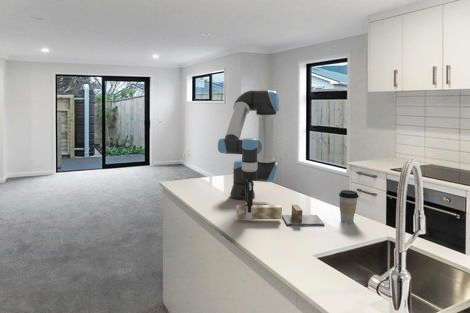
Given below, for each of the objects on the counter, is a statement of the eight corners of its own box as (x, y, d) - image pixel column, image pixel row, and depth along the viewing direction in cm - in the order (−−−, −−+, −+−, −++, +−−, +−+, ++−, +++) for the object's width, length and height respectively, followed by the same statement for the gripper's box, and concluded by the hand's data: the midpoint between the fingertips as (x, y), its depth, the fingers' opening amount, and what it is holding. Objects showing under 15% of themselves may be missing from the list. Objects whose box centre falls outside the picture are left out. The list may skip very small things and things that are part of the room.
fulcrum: (287, 225, 180) (287, 211, 179) (281, 216, 194) (282, 203, 193) (324, 225, 181) (325, 211, 180) (316, 216, 195) (317, 203, 194)
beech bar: (236, 219, 184) (236, 207, 183) (236, 216, 188) (236, 205, 187) (281, 219, 185) (281, 207, 184) (280, 216, 189) (280, 204, 188)
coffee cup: (341, 217, 195) (342, 188, 193) (359, 220, 190) (361, 191, 188) (334, 221, 187) (336, 192, 185) (353, 225, 182) (355, 195, 180)
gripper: (240, 166, 190) (239, 211, 194) (243, 174, 174) (242, 222, 178) (255, 166, 191) (254, 211, 195) (259, 174, 174) (258, 222, 178)
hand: (248, 216), depth 186 cm, fingers closed on beech bar, 4 cm apart
